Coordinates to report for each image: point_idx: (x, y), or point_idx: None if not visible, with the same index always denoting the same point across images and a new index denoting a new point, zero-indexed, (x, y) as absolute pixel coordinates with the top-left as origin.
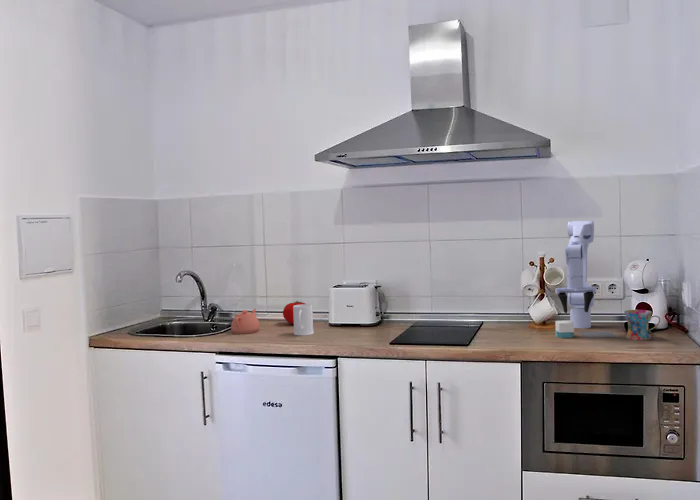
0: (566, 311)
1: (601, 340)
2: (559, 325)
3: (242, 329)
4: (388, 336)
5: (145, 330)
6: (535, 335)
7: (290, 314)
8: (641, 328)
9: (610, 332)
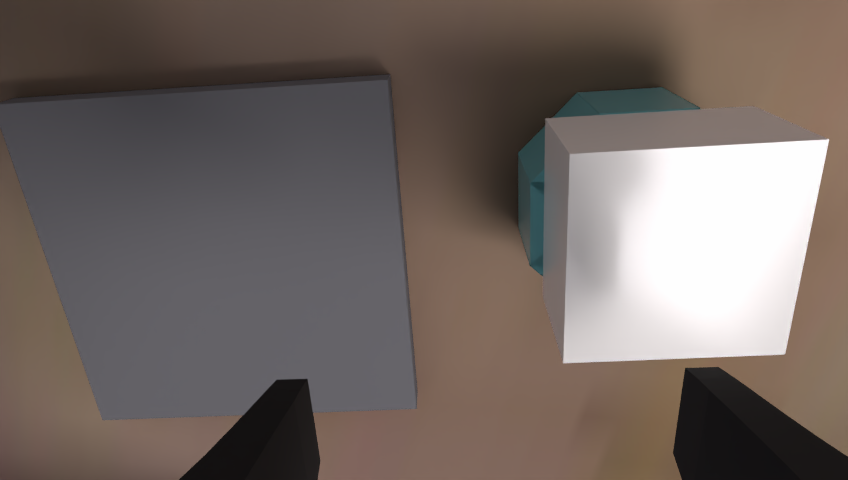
0: (715, 376)
1: (223, 58)
2: (806, 129)
3: None
4: None
5: None
6: (838, 383)
7: None
8: None
9: (86, 351)
